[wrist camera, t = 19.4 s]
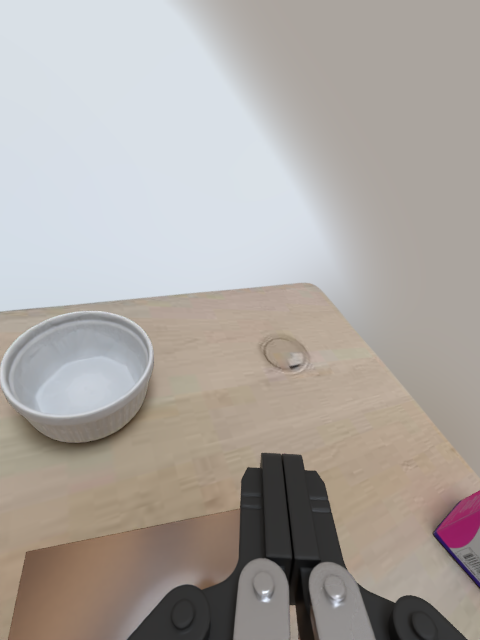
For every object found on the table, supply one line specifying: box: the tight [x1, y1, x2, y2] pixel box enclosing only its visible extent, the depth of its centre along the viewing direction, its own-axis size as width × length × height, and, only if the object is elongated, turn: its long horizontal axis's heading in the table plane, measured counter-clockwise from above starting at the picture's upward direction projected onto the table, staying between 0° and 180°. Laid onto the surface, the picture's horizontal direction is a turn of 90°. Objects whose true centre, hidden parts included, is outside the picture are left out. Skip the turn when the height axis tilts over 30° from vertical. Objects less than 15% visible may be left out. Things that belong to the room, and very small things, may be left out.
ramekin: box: [0, 311, 154, 443], centre depth 32 cm, size 13×13×7 cm
